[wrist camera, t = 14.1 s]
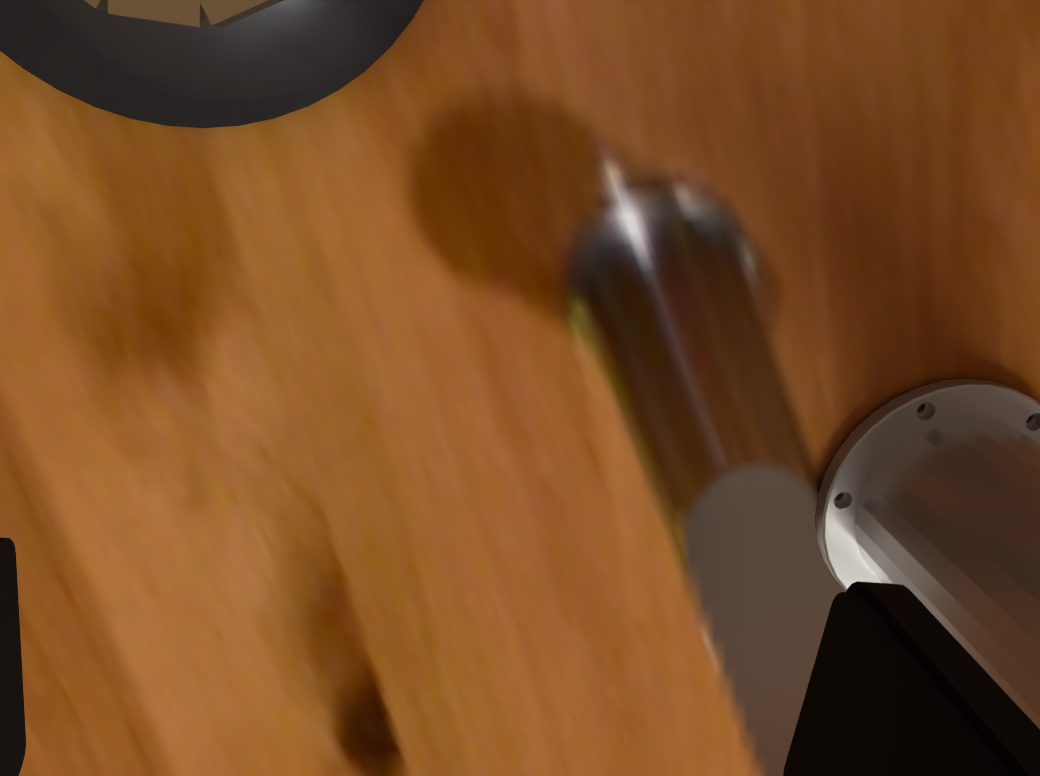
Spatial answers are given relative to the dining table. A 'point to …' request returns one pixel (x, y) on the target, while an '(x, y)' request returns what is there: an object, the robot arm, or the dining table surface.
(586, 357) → the dining table surface
